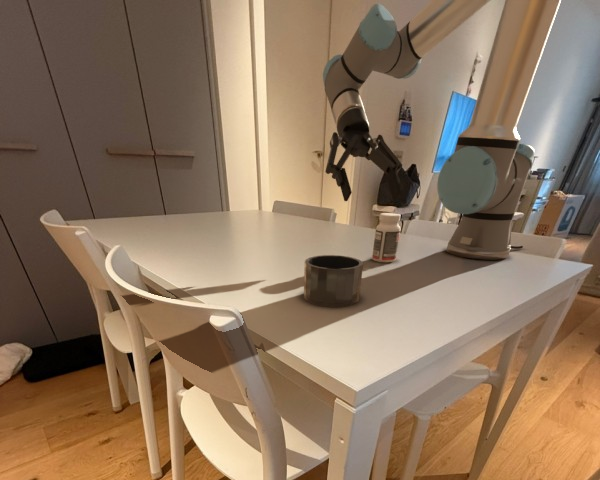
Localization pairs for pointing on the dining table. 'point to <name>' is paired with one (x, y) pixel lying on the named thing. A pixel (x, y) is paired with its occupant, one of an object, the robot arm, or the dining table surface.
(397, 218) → the pill bottle
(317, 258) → the cylindrical container
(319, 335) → the dining table surface
